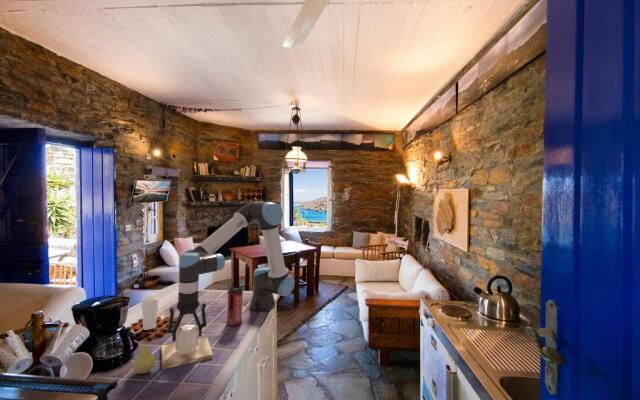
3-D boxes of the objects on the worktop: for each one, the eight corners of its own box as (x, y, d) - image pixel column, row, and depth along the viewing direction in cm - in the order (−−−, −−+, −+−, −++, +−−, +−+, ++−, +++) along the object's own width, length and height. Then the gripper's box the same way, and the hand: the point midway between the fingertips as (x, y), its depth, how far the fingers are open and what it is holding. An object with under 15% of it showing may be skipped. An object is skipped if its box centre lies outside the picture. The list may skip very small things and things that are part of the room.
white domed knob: (195, 343, 125) (195, 321, 124) (197, 352, 118) (197, 328, 118) (176, 347, 121) (177, 324, 121) (177, 356, 115) (178, 331, 115)
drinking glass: (159, 329, 140) (160, 298, 140) (143, 333, 135) (144, 301, 135) (154, 324, 145) (155, 294, 145) (139, 328, 140) (140, 297, 140)
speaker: (237, 319, 154) (238, 285, 154) (245, 324, 149) (246, 289, 149) (223, 323, 149) (225, 288, 149) (231, 328, 143) (232, 292, 143)
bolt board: (206, 340, 131) (207, 323, 131) (212, 358, 117) (213, 339, 117) (161, 349, 122) (162, 331, 122) (162, 369, 108) (162, 349, 108)
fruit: (149, 378, 103) (150, 344, 103) (127, 378, 103) (128, 344, 102) (158, 367, 110) (159, 335, 110) (137, 367, 109) (138, 335, 109)
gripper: (212, 285, 128) (211, 337, 128) (160, 291, 118) (159, 347, 118) (215, 290, 121) (213, 345, 121) (160, 297, 111) (159, 356, 112)
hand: (186, 346), depth 120 cm, fingers closed on white domed knob, 7 cm apart
